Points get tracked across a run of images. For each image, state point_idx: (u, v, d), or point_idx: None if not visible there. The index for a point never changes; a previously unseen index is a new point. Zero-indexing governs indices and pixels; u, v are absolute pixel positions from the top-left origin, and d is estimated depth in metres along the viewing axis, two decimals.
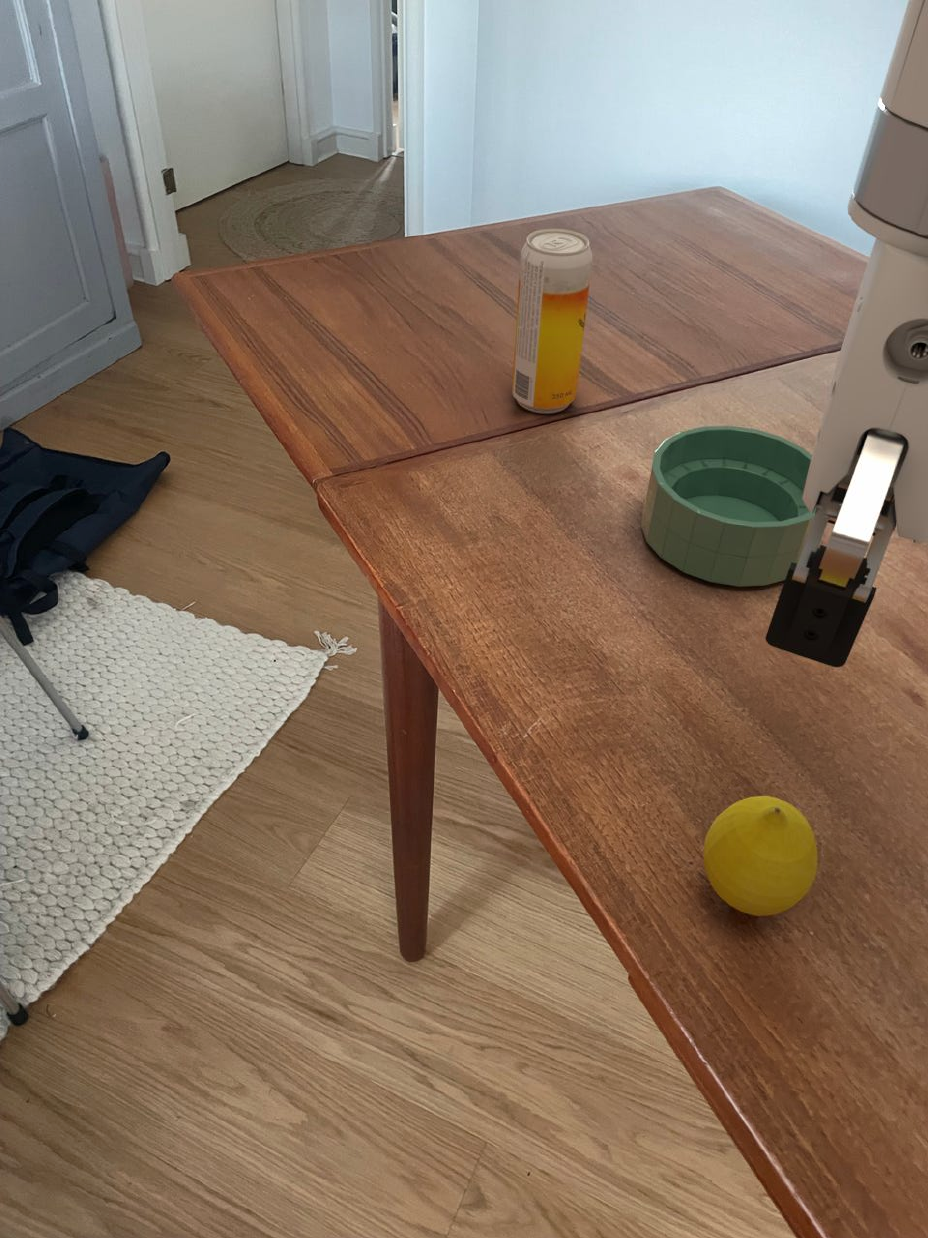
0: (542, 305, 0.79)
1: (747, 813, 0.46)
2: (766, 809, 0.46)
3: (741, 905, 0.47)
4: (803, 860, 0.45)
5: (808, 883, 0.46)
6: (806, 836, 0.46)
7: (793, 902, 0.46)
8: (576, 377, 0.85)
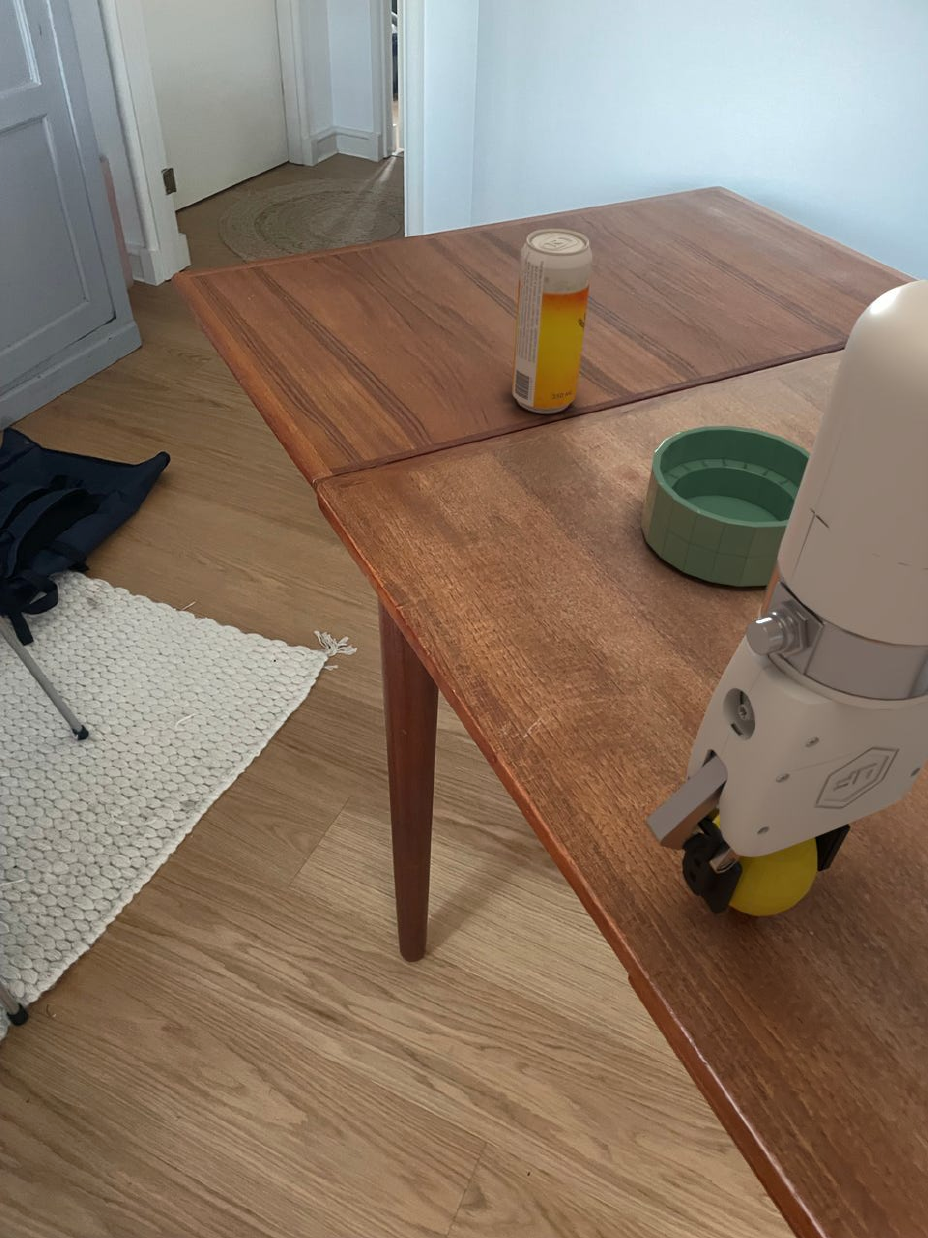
0: (542, 305, 0.79)
1: None
2: None
3: (741, 906, 0.47)
4: (803, 860, 0.45)
5: (808, 883, 0.46)
6: None
7: (793, 902, 0.46)
8: (576, 377, 0.85)
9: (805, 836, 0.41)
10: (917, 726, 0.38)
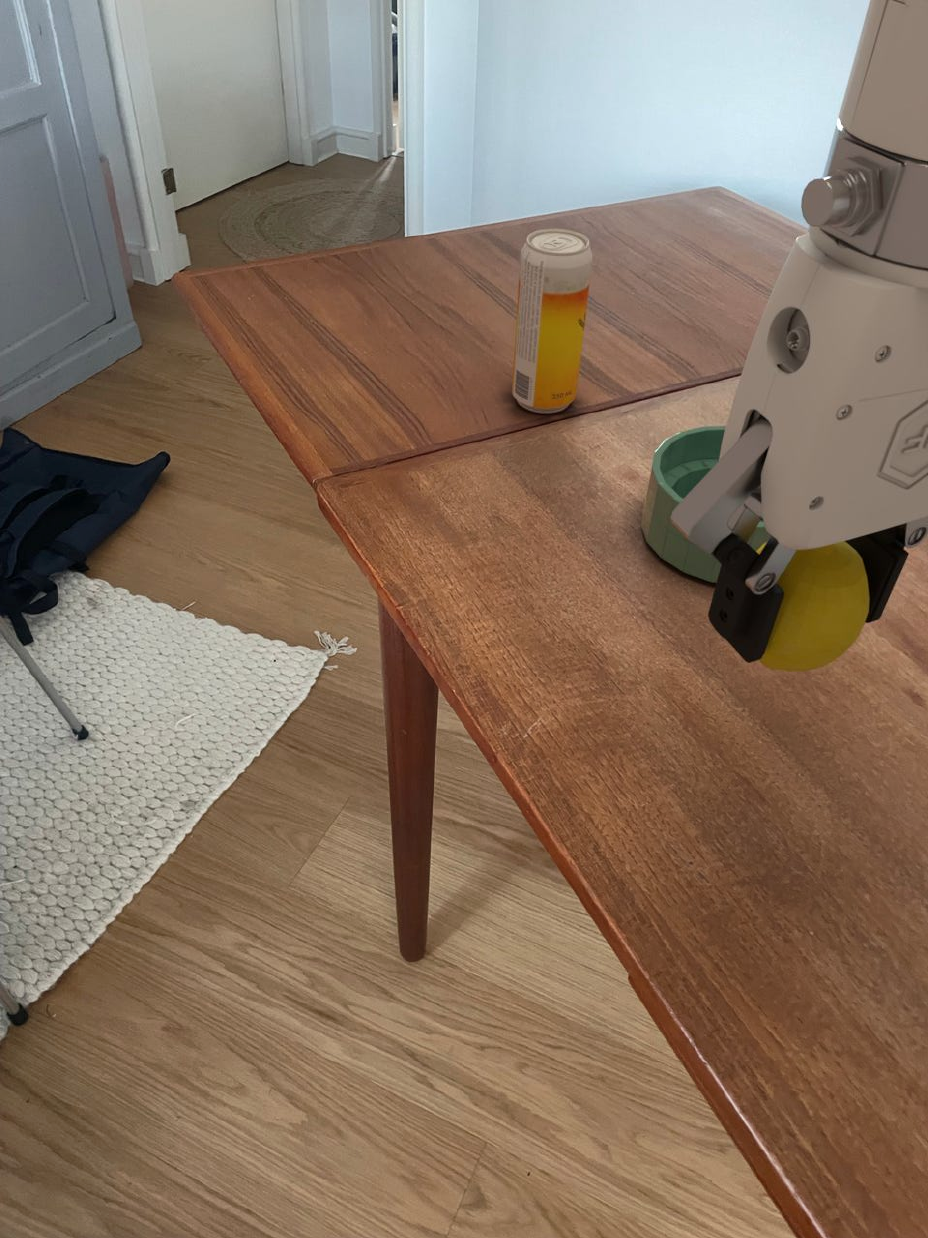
0: (542, 305, 0.79)
1: None
2: None
3: (780, 653, 0.39)
4: (855, 587, 0.38)
5: (859, 620, 0.39)
6: (857, 562, 0.38)
7: (842, 645, 0.39)
8: (576, 377, 0.85)
9: (863, 527, 0.34)
10: None
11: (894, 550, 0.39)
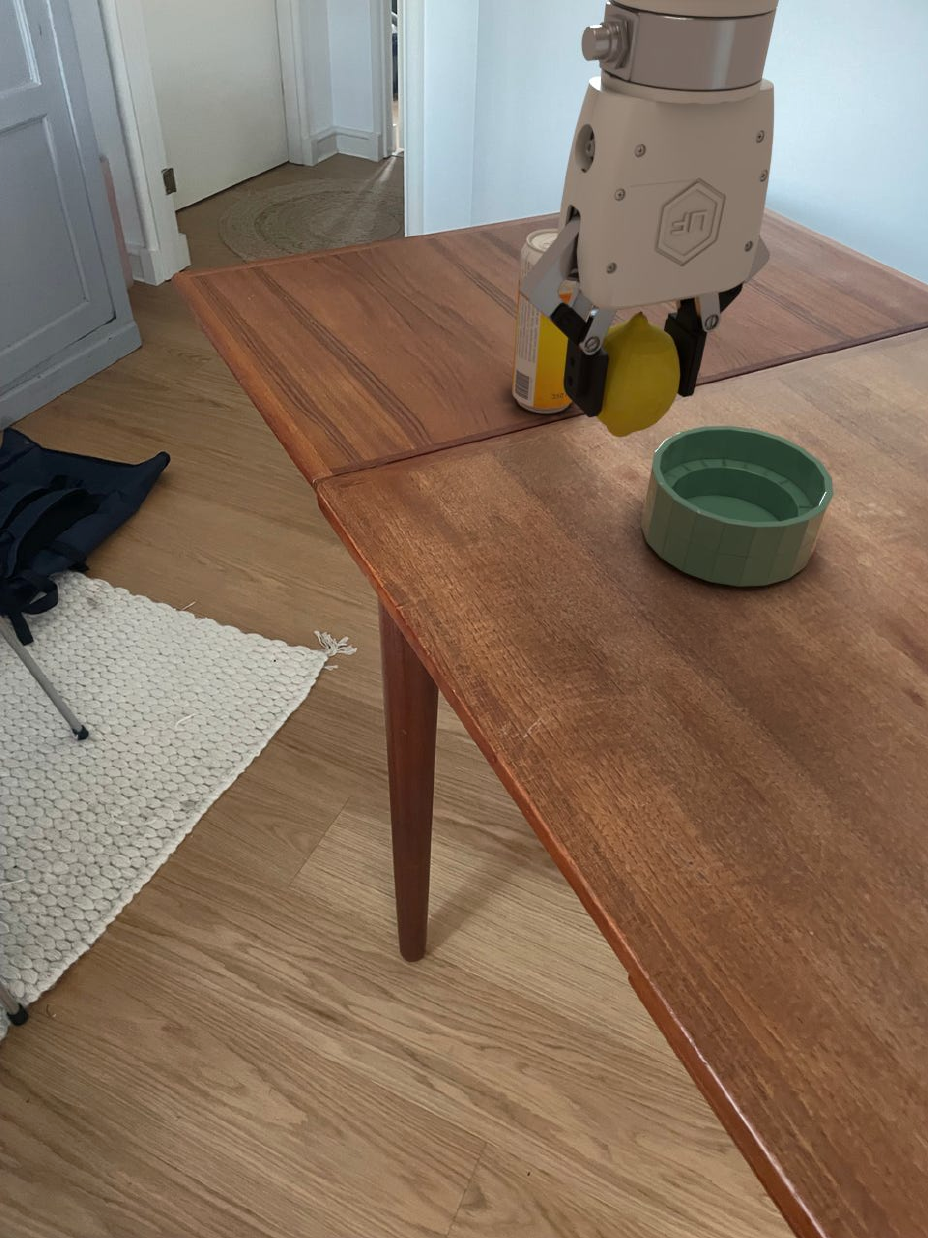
0: None
1: (617, 325, 0.53)
2: (632, 316, 0.53)
3: (613, 409, 0.54)
4: (663, 355, 0.52)
5: (669, 383, 0.53)
6: (667, 339, 0.53)
7: (657, 402, 0.53)
8: None
9: (653, 294, 0.48)
10: (738, 169, 0.46)
11: (696, 333, 0.53)
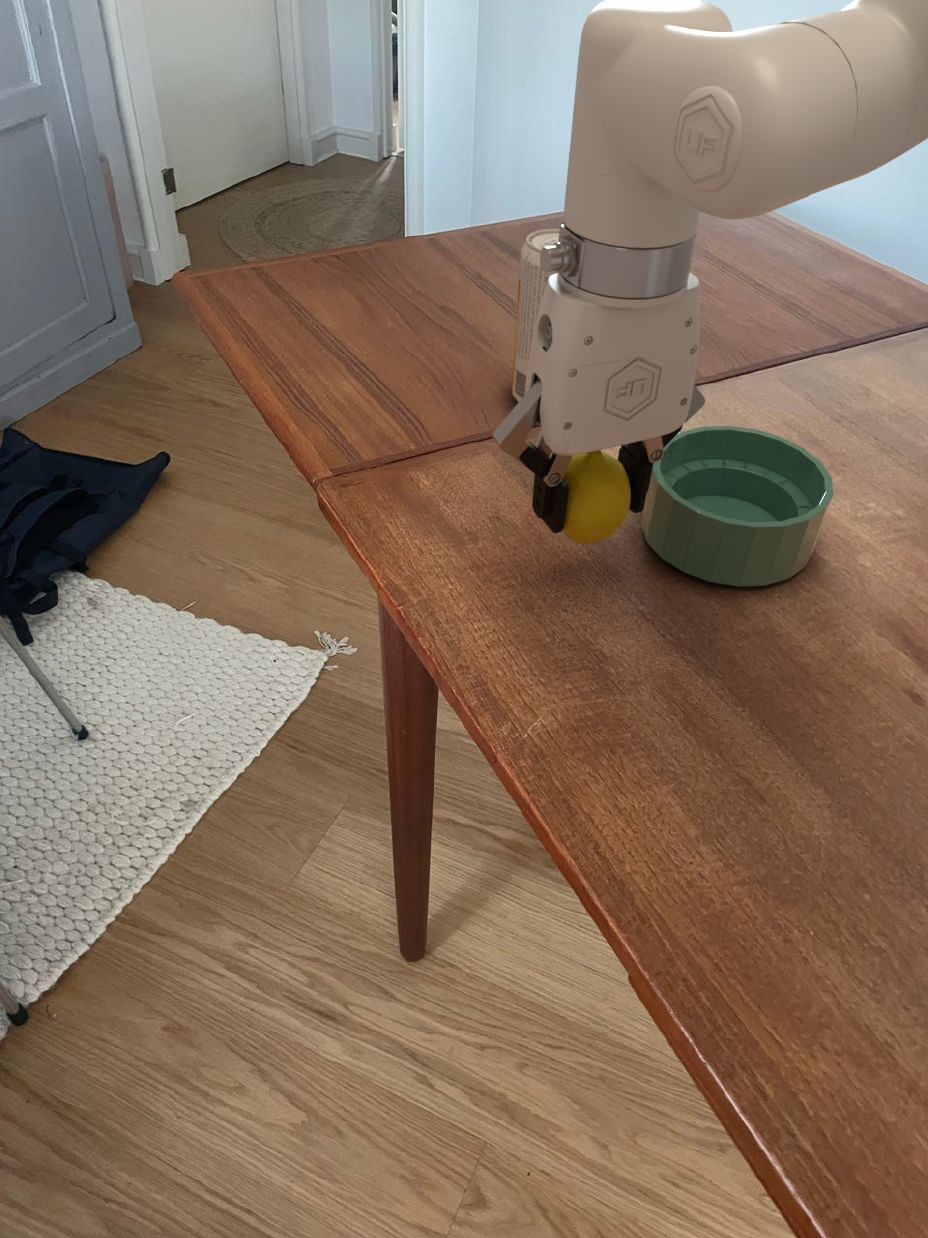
0: None
1: (577, 457, 0.63)
2: None
3: (574, 527, 0.64)
4: (614, 484, 0.62)
5: (620, 506, 0.63)
6: (618, 470, 0.63)
7: (610, 521, 0.63)
8: None
9: (603, 443, 0.58)
10: (671, 347, 0.56)
11: (643, 464, 0.63)
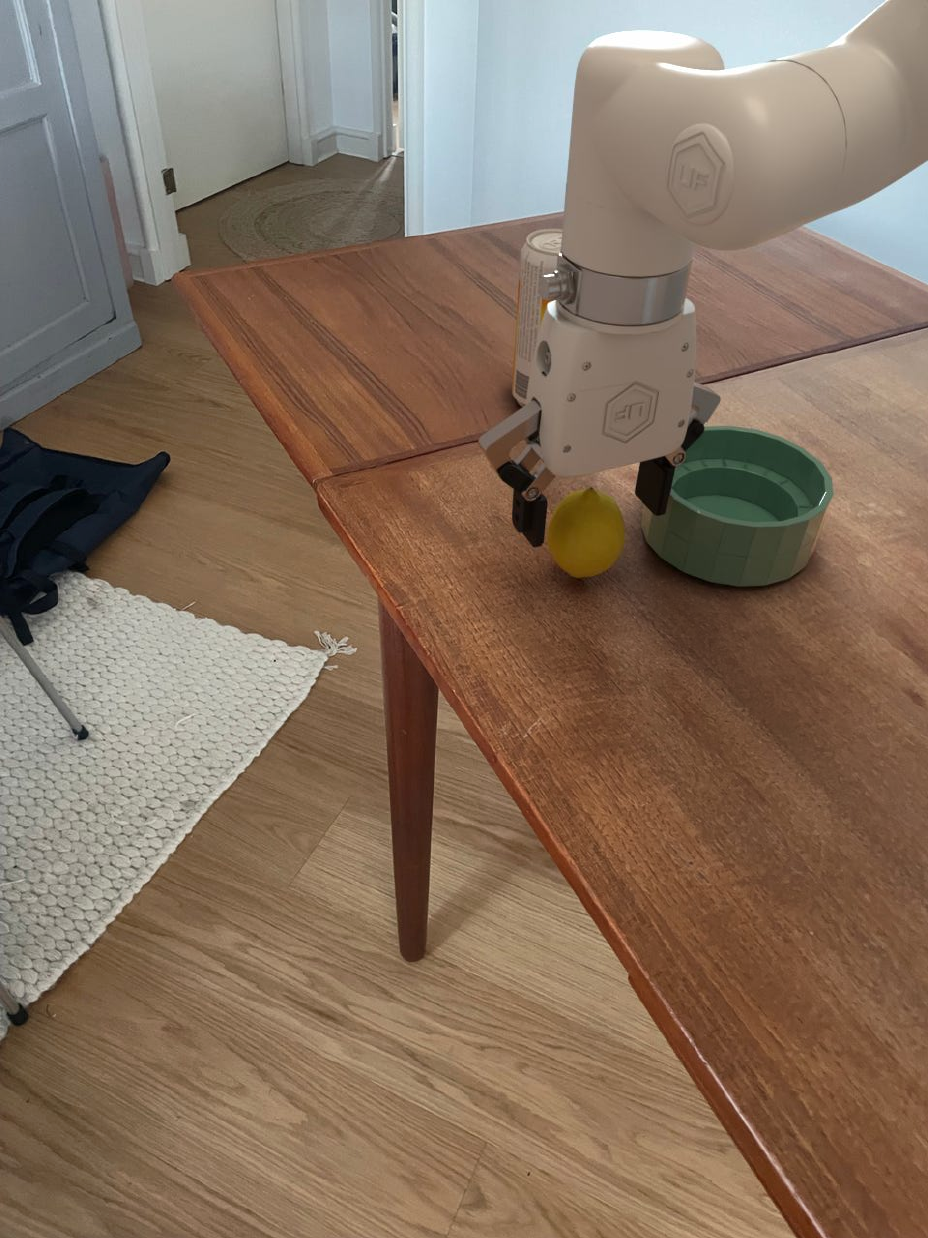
0: (542, 305, 0.79)
1: (573, 495, 0.65)
2: None
3: (570, 563, 0.66)
4: (609, 523, 0.64)
5: (615, 543, 0.65)
6: (613, 508, 0.65)
7: (605, 558, 0.65)
8: None
9: (602, 465, 0.59)
10: (668, 372, 0.57)
11: (666, 467, 0.64)
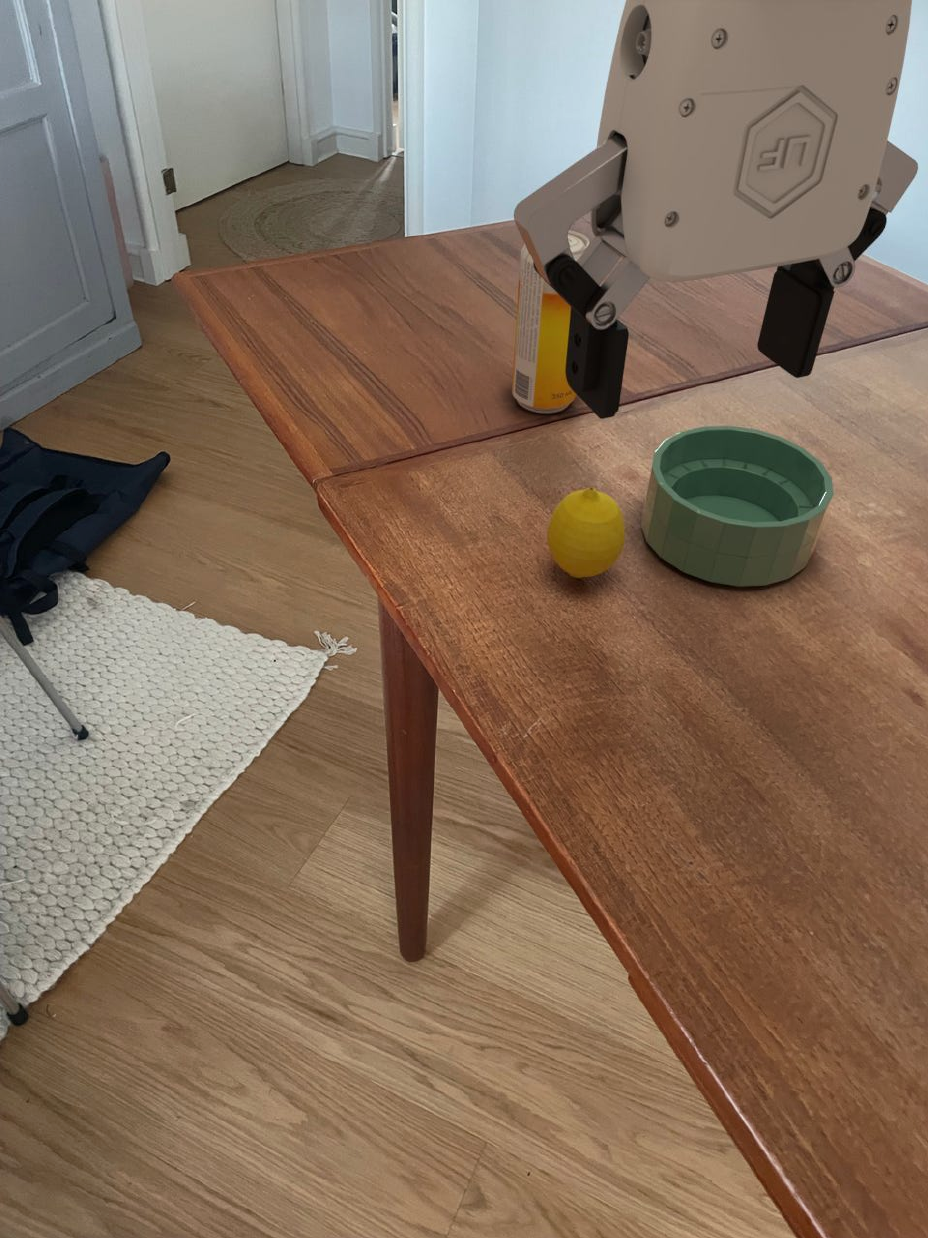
0: (542, 305, 0.79)
1: (573, 495, 0.65)
2: None
3: (570, 563, 0.66)
4: (609, 523, 0.64)
5: (615, 543, 0.65)
6: (613, 508, 0.65)
7: (605, 558, 0.65)
8: None
9: (729, 259, 0.34)
10: (858, 74, 0.31)
11: (820, 289, 0.39)
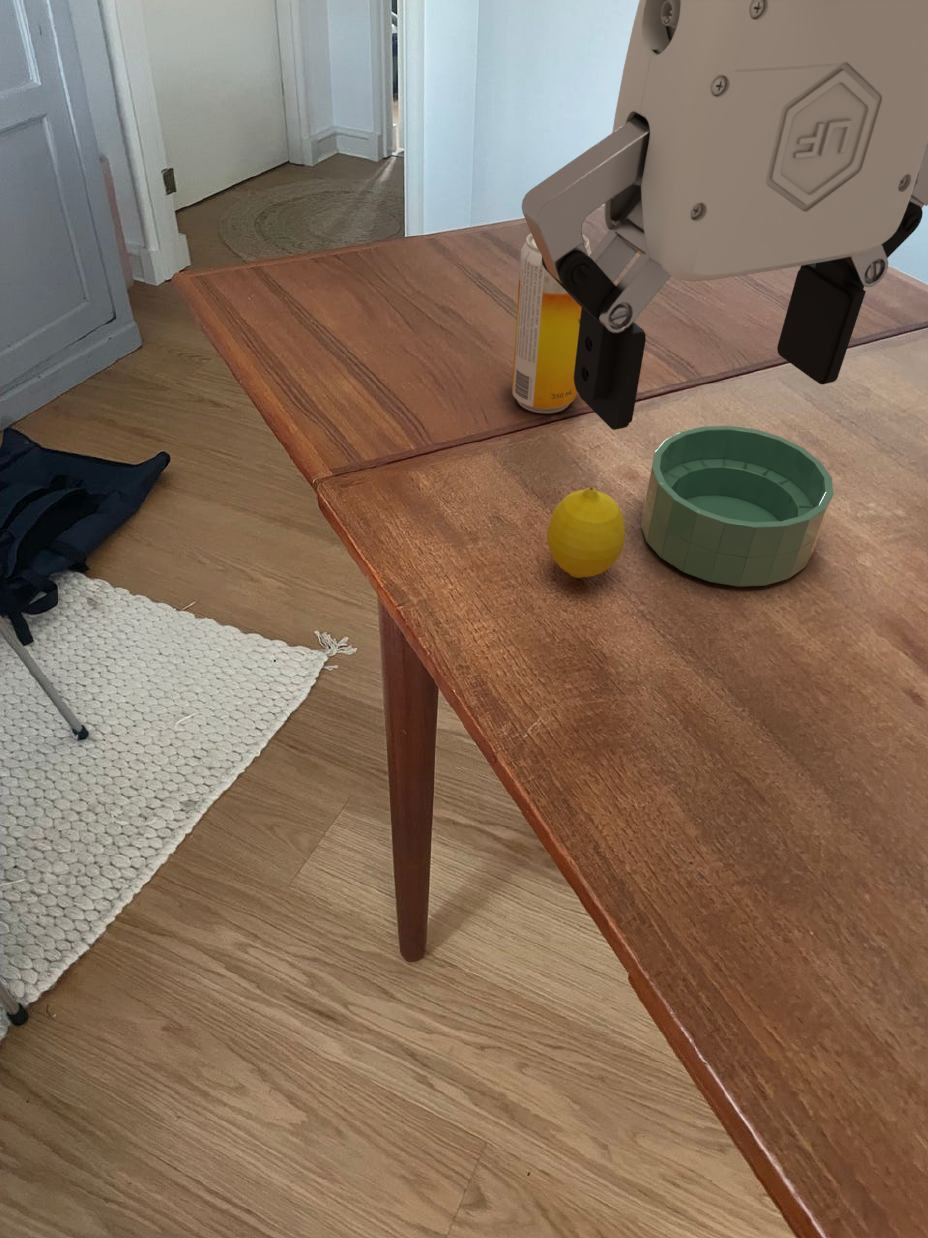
0: (542, 305, 0.79)
1: (573, 495, 0.65)
2: None
3: (570, 563, 0.66)
4: (609, 523, 0.64)
5: (615, 543, 0.65)
6: (613, 508, 0.65)
7: (605, 558, 0.65)
8: None
9: (758, 257, 0.31)
10: (906, 51, 0.28)
11: (850, 288, 0.36)
